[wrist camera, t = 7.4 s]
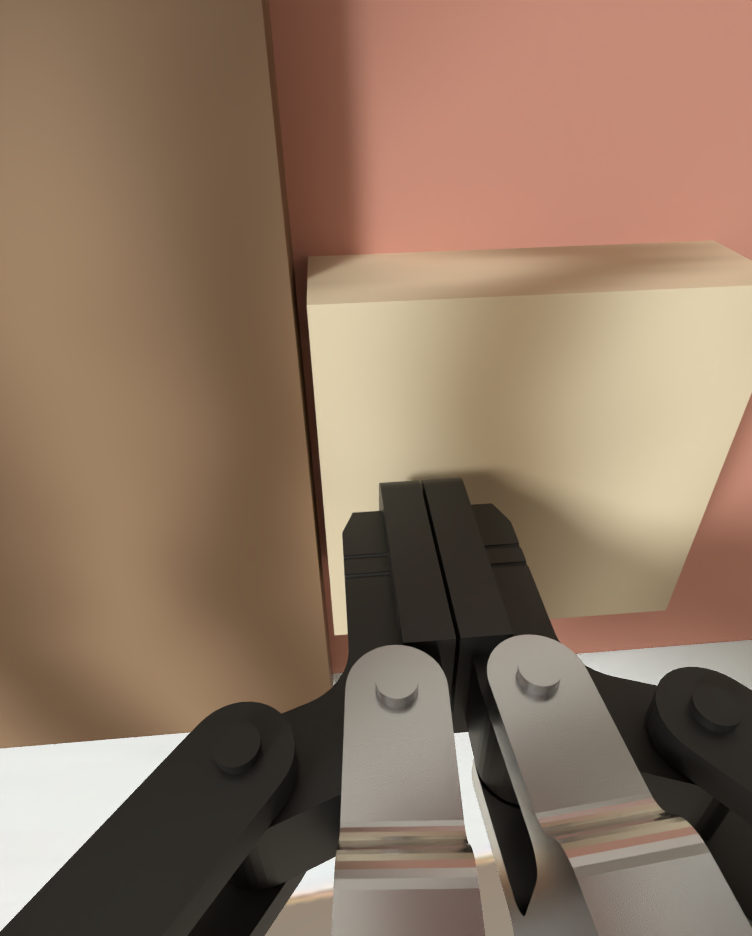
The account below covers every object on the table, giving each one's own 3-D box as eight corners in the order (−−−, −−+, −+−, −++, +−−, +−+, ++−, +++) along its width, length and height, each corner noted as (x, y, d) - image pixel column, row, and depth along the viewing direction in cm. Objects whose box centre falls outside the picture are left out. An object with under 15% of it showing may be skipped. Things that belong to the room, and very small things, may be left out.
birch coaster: (714, 240, 12) (795, 283, 10) (623, 540, 17) (665, 610, 15) (307, 256, 12) (306, 304, 10) (332, 560, 16) (334, 635, 14)
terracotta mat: (1261, -112, 10) (1293, -117, 9) (811, 624, 20) (818, 634, 20) (260, -104, 9) (258, -109, 9) (332, 662, 19) (332, 673, 19)
